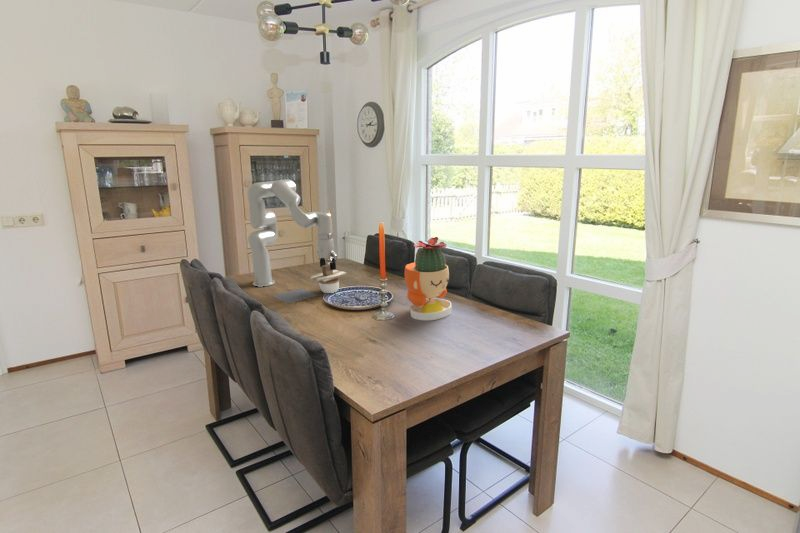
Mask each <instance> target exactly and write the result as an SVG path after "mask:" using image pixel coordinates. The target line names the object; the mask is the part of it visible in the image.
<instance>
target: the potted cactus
mask: <svg viewBox="0 0 800 533" xmlns="http://www.w3.org/2000/svg"><path fill="white" fill-rule="evenodd" d="M438 240H439V237H437V236H435V237H430V238H429V239H427V240H426V242H423V240H418V242H416V243H414V244H413V247H415V248H420V249H419V250H417V251H418V252H417V253H416V258H415V261H414V262H411V263H407V264H406V265H405V267H404V275H403V276H404V281H405V285H406V287H407V289H408V290H407V293H406V296H407V300H408V301H409V302H410V303H411V304H412V305H411V306H410V316H411V318H412V319H415V320H418V321H434V320H436V321H437V320H439V319H443V318H445V317H448V316H449V315H450V314H451V313H452V302H451V301H450V300H447V299H443V298H444V297H445V296H447V294H448V290H447V286H448V284H449V281H450V271H449V270H450V269H449V265H447V264H446V260H447V259H446V257H445V256H444V252H443V251H442V250H441V249H442V248H443V249H444V248H447V244H446V243H445V242H444V241H439V243H438Z"/></svg>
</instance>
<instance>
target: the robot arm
mask: <svg viewBox="0 0 800 533" xmlns="http://www.w3.org/2000/svg"><path fill="white" fill-rule="evenodd" d="M296 191H297V184H296V183H295V182H294V180H292V179H290V178H288V179H287V178H285V179H278V180H269V181H259V182H255V183H252V184H251V185H250V186H249V187H248V189H247V198H248V199H247V200H248V205H249V207H248V208H249V222H250V226H251V228H253V229H255V231H252V232H251V233H249V235H248V238H247V241H248V244H249V248H250V252H251V259H252V267H253V274H254V281H253V282H252V286H253V285H254V286H253V287H255V286H258V287H257V288H264V287H263V286H265V287H269V286H272V285H274V284H275V283H276V281H275V280H274V279H273V278H272V268H271V267H272V266H271V259H270V252H269V251H268V249H267V247H266V246H271V245H272V244H275V243H276V242H277V239H278V222H277V221H278V219H277V216H276V214H275V212H274V211H272V210H270V209H266V204H265V203H266V202H265V200H264V199H263V198H270V197H277V199H279V200H280V202H282V203H283V204H284V205H286V207H287V208H288V213H289V215H290V218H291V219H292V220H293V222H294V223H296V224H297V225H298V226H299V227H300V228H303V229H309V228H312V227H316V226H317V227H316V228H317V236H318V237H317V250H316V252H317V256H318V260H319V267H320V268H322V266H324V265H327V263H326V260H329V265H330V270H337V266H336V265H337V263H336V262H337V258H338V254H337V253H336V251H335V250H336V249H335V243H334V236H333V235H334V233H333V221H332V214H331V213H330V212H321V211H311V212H304V211H303V210H302V209H300V207H298V205H299V204H300V202H301V196H300V195H299V194H298V193H297V192H296ZM257 229H259V230H257Z"/></svg>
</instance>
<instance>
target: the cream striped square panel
mask: <svg viewBox="0 0 800 533" xmlns="http://www.w3.org/2000/svg"><path fill="white" fill-rule="evenodd" d="M317 296H319V294H317V293H314V292H311V291H309V290H307V289H304V288H298V289H294V290H289V291H286V292H282V293H277V294H275V295H272V297H273V298H275V299H277V300H279V301H282V302H283V303H285V304H287V305H288V304H291V303H295V302H299V301H303V300H307V299H310V298H314V297H317Z"/></svg>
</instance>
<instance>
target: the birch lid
mask: <svg viewBox="0 0 800 533" xmlns="http://www.w3.org/2000/svg"><path fill="white" fill-rule="evenodd" d="M321 271H322V272H319V273H317V274H314V275H310V276H308V279H310V280H314V281H318V282H319V281H322V282H326V281H329V280H332V279H335V278H340V277H343V276H346V275H348V274H349V273H348V272H346V271H341V270H338V269H335V270H330V263H329V264H328V263H326V265H324V266H322V267H321Z"/></svg>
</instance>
